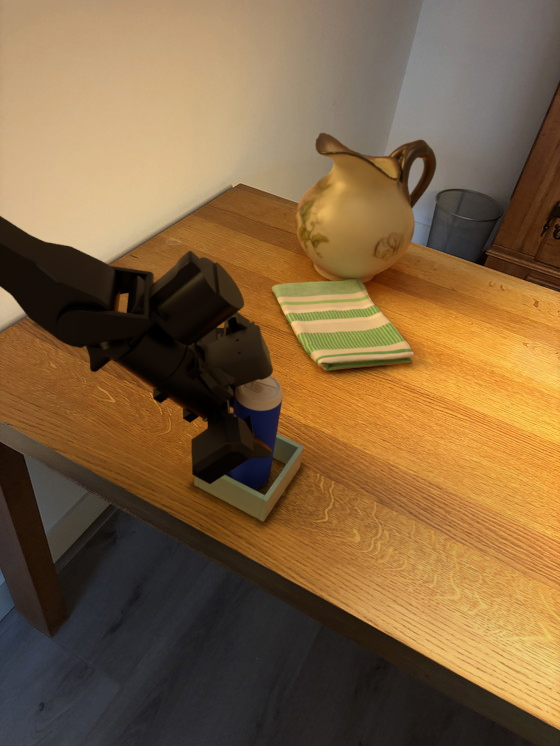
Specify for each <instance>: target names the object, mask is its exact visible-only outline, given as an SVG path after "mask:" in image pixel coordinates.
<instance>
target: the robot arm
mask: <svg viewBox="0 0 560 746" xmlns="http://www.w3.org/2000/svg"><path fill="white" fill-rule="evenodd" d="M154 275H155V274H154V273H153V272H152V271H150V270H149V271H148V270H141V269H135V268H127V267H121V266H114V265H109V264H108V263H107V262H105V261H102V260H101V259H99V258H96V257H94V256H92V255H90V254H88V253H86V252H83V251H81V250H80V249H77V248H76V247H74V246H70V245H67V244H60V243H56V242H55V243H54V242H48V241H45V240H42V239H40V238H38V237H36V236H34V235H32V234H30V233H28V232H27V231H25V230H23V229H22V228H20V227H18V226H17V225H16V224H14V223H12V222H11V221H9V220H8V219H6V218H4V217H3V216H1V215H0V288H1V289H2V290H4V291H5V292H7V293H8V294H9V295H10V296H11V297H12V298H13V299H14V301H15V302H16V303H17V304H18V306H19V307H20V308H21V310H22V311H23V312H24V313H25V315H26V316H27V317H28V319H29V320H31V321H32V322H33V323H34V324H36V325H37V326H38V327H40V328H42V329H43V330H44V331H45V332H46V333H48V334H50V335H51V336H52V337H53V338H55V339H56V340H57V341H59V342H61V344H65V345H66V346H67V345H68V346H69V347H73V348H79V349H81V348H82V349H83V348H84V347H85V349H86V351H87V353H88V357H89V370H90V372H92V373H96V372H99V370H101V369H102V368H104V367H105V366H106V365H107V364H108V363H109V362H111V361H112V362H113V363H115V364H117V365H118V366H120V367H121V368H122V369H124V370H126V371H127V372H128V373H130V374H131V375H133V376H134V377H136V378H137V379H139V380H140V381H142V382H143V383H145V384H147V385H148V386H149V387H151V388H152V400H153V401H154V400H155V401H156V402H157V403H158V404H160V405H161V404H162V403H164V402H165V401H166V400H167V399H169V401H171V402H173V403H174V404H176V405H178V407H180V408H182V419H183V420H184V421H186V422H187V423H189V424H191V423H192V422H194V421H196V419H198V418H201V420H202V422H203V423H206V424H207V425H206V426H207V428H206V429H204V430H202V431H201V432H200V433H199V434H197V435H196V436H194V437H193V438H191V441H190V443H191V448H190V449H191V450H190V451H191V474H192V476H194V478H195V477H197V478H199V479H201V480H202V481H204V482H206V483H208V484H211V483H213V482H215V481H216V480H218V479H219V478H221V477H222V476H224V475H228V473H229V472H230V471H232V470H233V469H235V468H236V467H238V466H240V465H241V464H243V463H244V462H246V461H247V460H249V459H250V458H267V457H268V456H270V455H272V450H271V449H270V448H269V447H268V446H267V444H266V443H264V442H263V441H262V440H261V439H260V438H259V437H258V436H257V435H256V434H255V433H254V432H253V428H252V421H251V415H249V416H247V417H246V418H244V419H243V420H242V419H240V418H239V417H236V415H235V414H234V413H233V412H231V409H233V408H234V396H235V389H236V387H238V386H241V385H244V384H247V383H250V382H253V381H256V380H263V379H266V378H268V377H269V376H272V374H273V372H274V368H273V363H272V361H271V359H272V358H271V355H270V353H271V352H270V349H269V347H268V345H267V343H266V341H265V339H264V336H263V334H262V331H261V327H260V325H258V324H256V323H255V321H250V320H249V319H248V318H246V317H245V316H244V315H242V314H241V313H239V311H240V310H242V309H243V308H244V307H245V301H244V297H243V294H242V292H241V290H240V288H239V286H238V284H237V283H236V282H235V280H234V279H233V277H232V275H230V274H229V273H228V271H227V270H226V269H225V268H224V267H223V266H222V265H221V264H220V263H219V262H218V261H215V262H214V261H213V260H211V259H210V258H207V257H205V256H203V257H199V256H198V255H196V253H195V252H193V251H192V250H188V251H187V252H186V253H184V254H183V255H182V256H181V257H179V259H178V260H177V261H176V263H175V264H174V266H172V267H171V268H170V269H169V270H168V271H166V272H165V273H164V274H163V275H162V276H161V277H160V278H158V279H157V280H156V281H155V282H154V279H155V276H154ZM121 295H127V301H126V302H127V303H126V312H121V311H119V307H120V300H121ZM118 311H119V312H118ZM223 323H224V324H223ZM222 324H223V327H219V326H221V325H222Z"/></svg>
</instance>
